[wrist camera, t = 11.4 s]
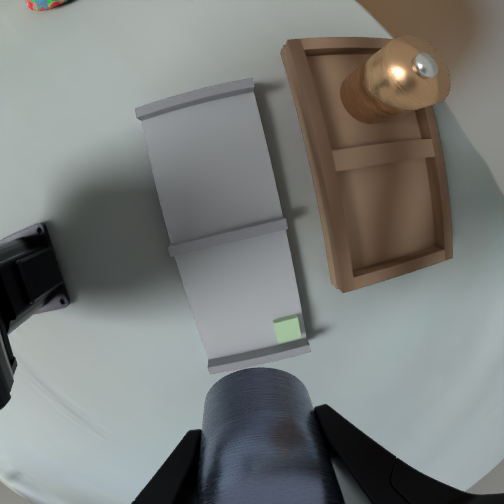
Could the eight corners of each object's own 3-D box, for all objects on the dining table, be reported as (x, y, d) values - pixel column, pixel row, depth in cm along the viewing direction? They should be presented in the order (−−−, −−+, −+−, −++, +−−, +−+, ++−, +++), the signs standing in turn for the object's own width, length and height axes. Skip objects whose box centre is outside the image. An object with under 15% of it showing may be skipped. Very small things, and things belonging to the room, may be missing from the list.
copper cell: (348, 126, 16) (408, 102, 10) (333, 74, 15) (382, 26, 9) (395, 122, 16) (464, 102, 10) (381, 72, 15) (441, 35, 9)
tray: (331, 283, 20) (343, 295, 18) (280, 52, 16) (286, 37, 14) (434, 252, 20) (452, 260, 18) (394, 49, 16) (410, 38, 14)
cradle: (212, 362, 21) (211, 376, 19) (142, 112, 16) (134, 105, 15) (305, 341, 21) (311, 354, 19) (249, 84, 16) (251, 74, 15)
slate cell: (221, 445, 10) (222, 607, 3) (189, 378, 9) (158, 591, 2) (314, 427, 10) (364, 587, 3) (301, 355, 9) (379, 569, 2)
